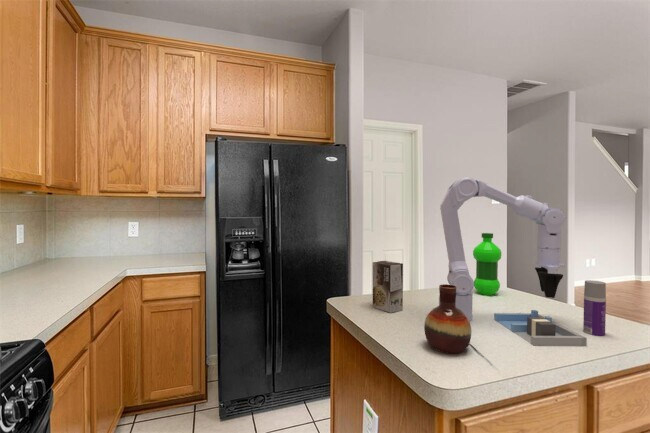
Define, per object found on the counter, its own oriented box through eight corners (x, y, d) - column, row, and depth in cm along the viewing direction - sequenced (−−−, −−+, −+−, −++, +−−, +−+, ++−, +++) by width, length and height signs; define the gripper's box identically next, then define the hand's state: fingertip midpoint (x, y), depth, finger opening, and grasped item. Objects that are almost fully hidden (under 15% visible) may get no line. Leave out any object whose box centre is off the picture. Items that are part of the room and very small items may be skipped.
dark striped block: (540, 342, 85) (540, 324, 85) (526, 333, 91) (526, 316, 91) (555, 342, 85) (556, 324, 85) (540, 333, 91) (540, 316, 91)
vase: (434, 335, 92) (434, 279, 92) (476, 346, 85) (477, 285, 84) (416, 348, 83) (417, 286, 83) (462, 361, 76) (463, 293, 76)
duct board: (533, 349, 83) (533, 331, 83) (494, 322, 102) (494, 308, 102) (586, 349, 83) (586, 331, 83) (536, 323, 102) (537, 308, 102)
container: (606, 341, 89) (607, 284, 88) (584, 337, 91) (585, 282, 91) (603, 335, 93) (604, 281, 92) (582, 332, 95) (583, 279, 95)
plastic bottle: (481, 289, 146) (482, 232, 145) (505, 294, 137) (506, 233, 137) (467, 292, 141) (468, 233, 140) (491, 298, 132) (492, 234, 131)
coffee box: (403, 310, 115) (404, 263, 115) (390, 313, 111) (390, 265, 111) (384, 304, 123) (385, 260, 122) (371, 306, 119) (371, 261, 119)
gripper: (570, 251, 90) (569, 302, 90) (560, 246, 103) (559, 290, 103) (539, 250, 93) (538, 298, 93) (533, 245, 106) (532, 288, 107)
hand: (547, 294), depth 99 cm, fingers open, 7 cm apart
